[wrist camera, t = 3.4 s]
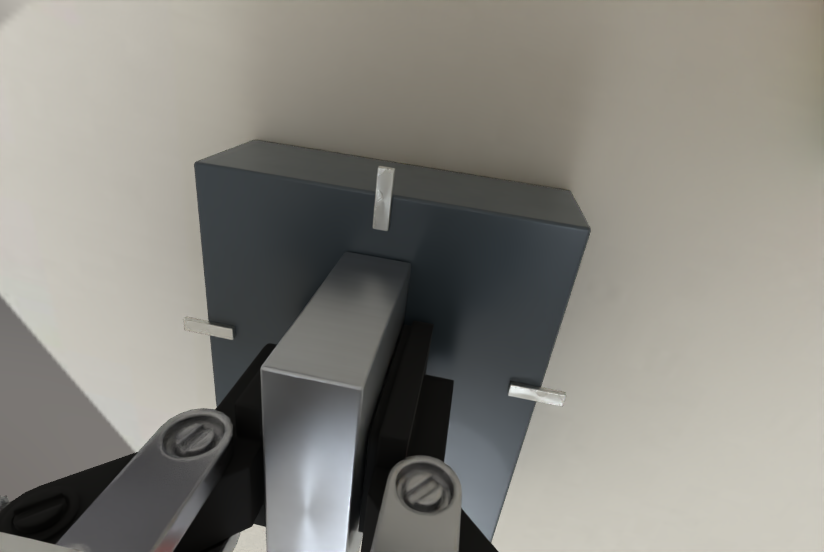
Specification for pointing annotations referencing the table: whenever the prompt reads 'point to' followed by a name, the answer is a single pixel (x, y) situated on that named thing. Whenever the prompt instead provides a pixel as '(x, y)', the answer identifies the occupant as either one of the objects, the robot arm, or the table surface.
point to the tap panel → (428, 284)
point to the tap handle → (328, 404)
